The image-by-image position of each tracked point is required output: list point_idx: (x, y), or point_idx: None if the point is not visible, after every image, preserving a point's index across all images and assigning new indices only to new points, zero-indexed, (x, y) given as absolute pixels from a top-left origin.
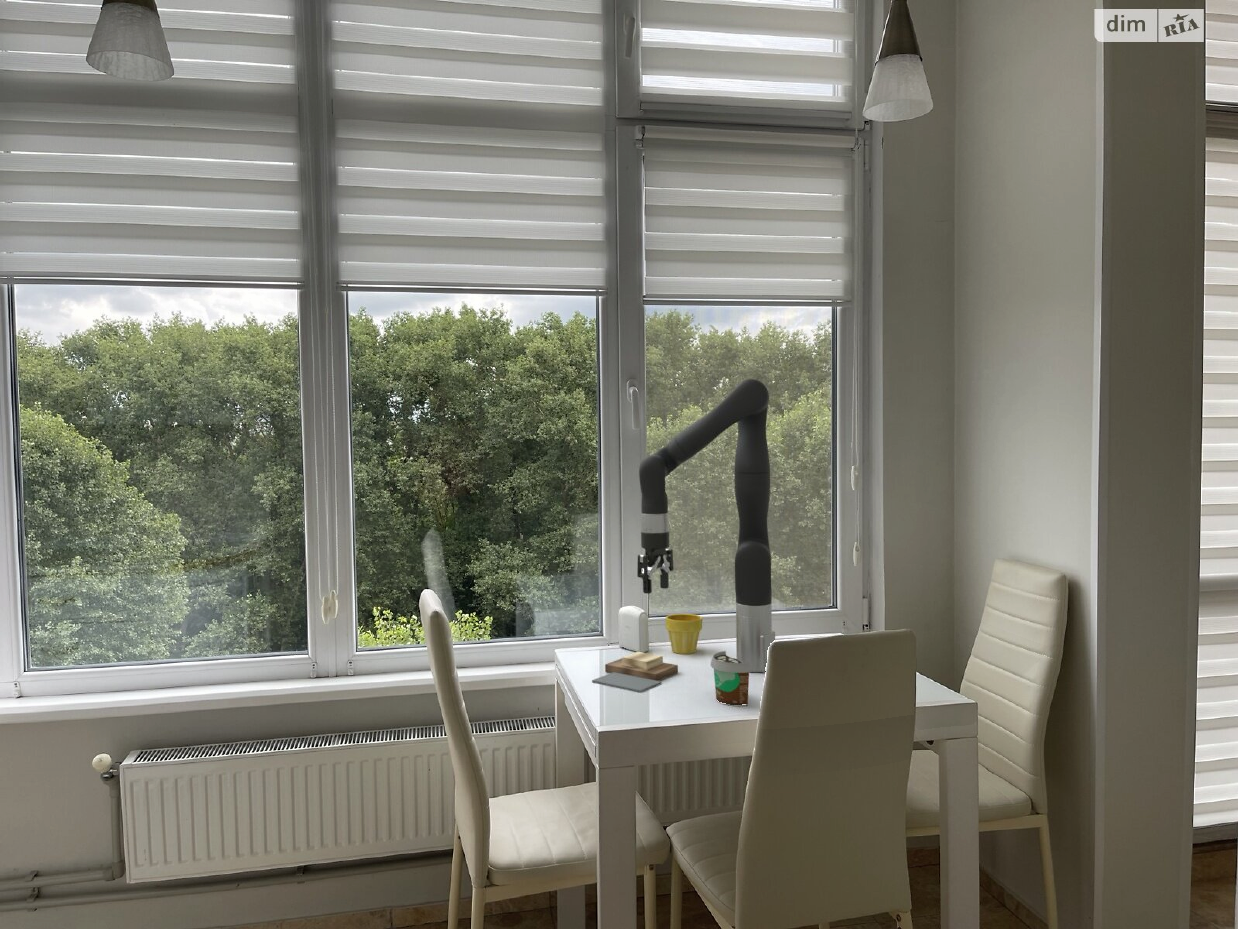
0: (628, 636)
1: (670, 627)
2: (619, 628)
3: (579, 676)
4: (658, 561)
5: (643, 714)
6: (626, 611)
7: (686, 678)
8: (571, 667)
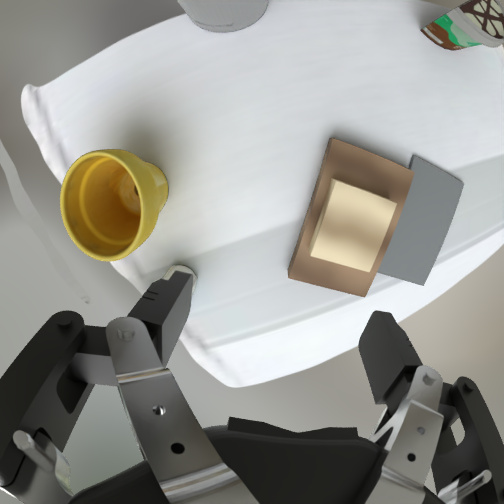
0: None
1: (152, 227)
2: None
3: None
4: (400, 483)
5: None
6: None
7: (363, 110)
8: (339, 349)
